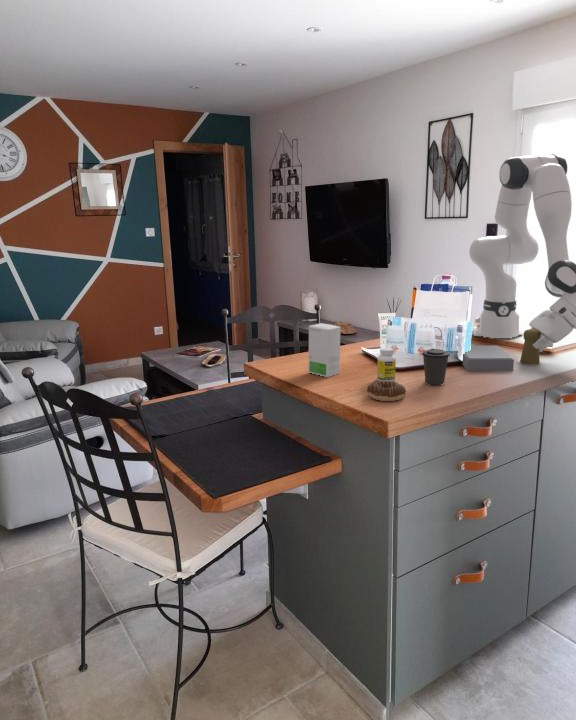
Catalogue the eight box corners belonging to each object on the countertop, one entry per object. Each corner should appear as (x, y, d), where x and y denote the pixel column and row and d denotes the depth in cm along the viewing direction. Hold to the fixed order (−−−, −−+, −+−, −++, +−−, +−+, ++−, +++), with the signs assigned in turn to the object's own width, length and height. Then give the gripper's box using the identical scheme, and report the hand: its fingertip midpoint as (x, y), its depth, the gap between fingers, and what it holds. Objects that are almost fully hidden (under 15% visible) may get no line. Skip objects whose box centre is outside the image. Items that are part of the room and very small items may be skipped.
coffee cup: (430, 377, 172) (431, 345, 169) (454, 382, 166) (455, 349, 163) (415, 383, 166) (416, 350, 163) (439, 389, 160) (441, 355, 158)
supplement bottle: (384, 383, 167) (384, 351, 164) (373, 379, 171) (373, 348, 169) (398, 380, 169) (399, 349, 167) (387, 376, 174) (388, 345, 171)
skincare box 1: (307, 373, 180) (306, 325, 176) (321, 369, 184) (320, 322, 180) (328, 378, 174) (327, 329, 170) (341, 373, 179) (341, 325, 175)
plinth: (456, 356, 194) (457, 345, 193) (498, 356, 193) (499, 345, 192) (467, 370, 177) (467, 358, 176) (513, 370, 176) (514, 358, 175)
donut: (360, 400, 154) (360, 386, 153) (376, 389, 162) (377, 376, 161) (396, 406, 148) (397, 392, 147) (411, 395, 156) (412, 381, 155)
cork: (536, 360, 187) (539, 327, 184) (542, 365, 181) (545, 331, 178) (517, 360, 188) (520, 328, 185) (523, 365, 182) (525, 331, 179)
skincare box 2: (529, 348, 203) (531, 328, 201) (547, 348, 202) (549, 328, 200) (534, 352, 197) (536, 331, 195) (552, 352, 196) (554, 331, 195)
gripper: (546, 301, 189) (513, 330, 192) (569, 312, 169) (532, 343, 173) (558, 314, 190) (526, 342, 193) (583, 326, 170) (546, 357, 173)
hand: (529, 343), depth 183 cm, fingers open, 8 cm apart
